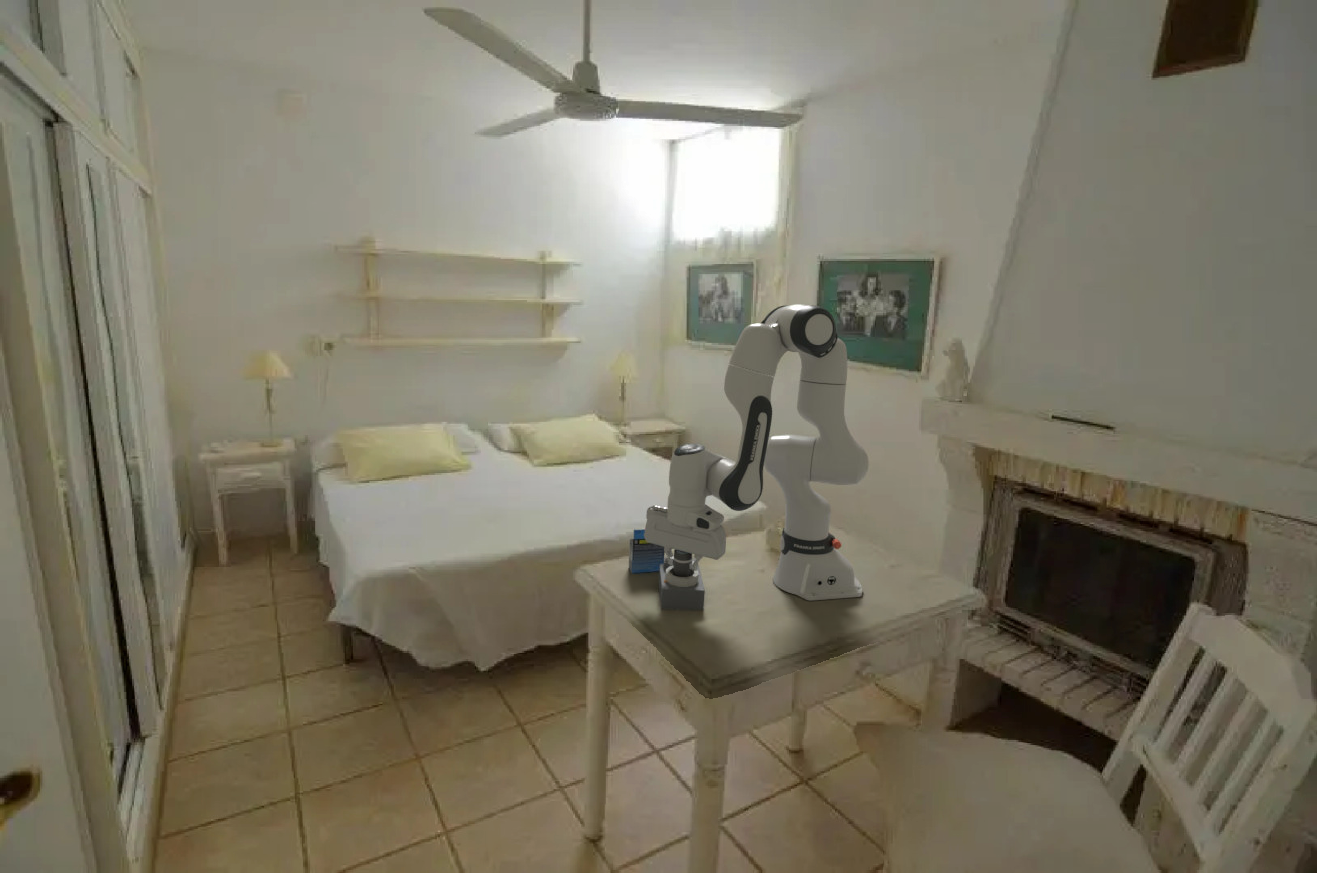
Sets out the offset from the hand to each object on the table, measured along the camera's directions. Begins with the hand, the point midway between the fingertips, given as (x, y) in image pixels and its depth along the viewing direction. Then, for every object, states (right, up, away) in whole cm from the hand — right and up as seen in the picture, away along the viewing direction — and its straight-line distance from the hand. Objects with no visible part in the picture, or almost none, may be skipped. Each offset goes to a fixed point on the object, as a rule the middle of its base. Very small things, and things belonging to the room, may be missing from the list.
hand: (682, 566), depth 159 cm
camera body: (0, -8, +3) cm, 8 cm away
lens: (0, -3, +1) cm, 3 cm away
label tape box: (-9, -4, +17) cm, 19 cm away
